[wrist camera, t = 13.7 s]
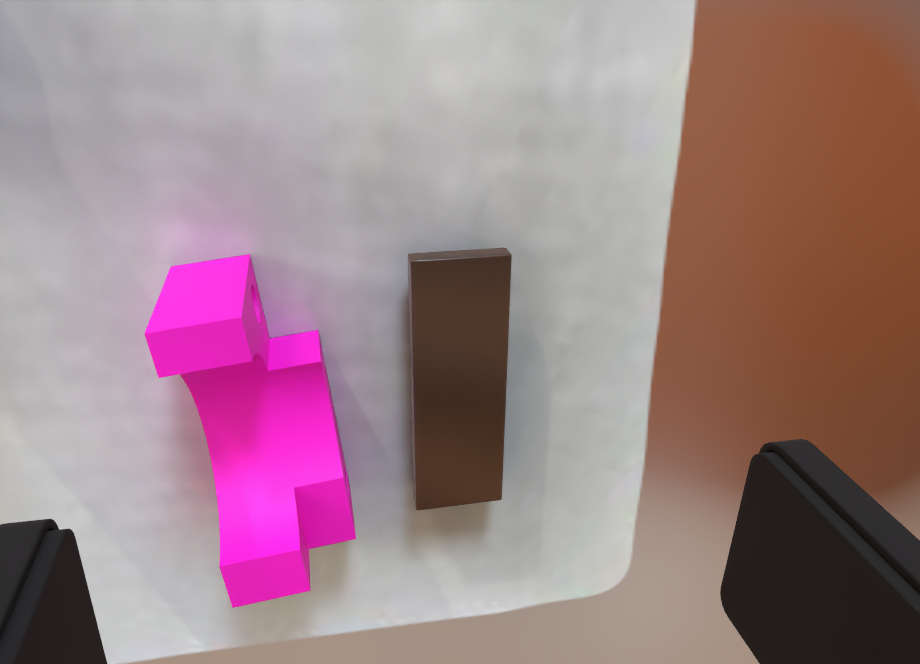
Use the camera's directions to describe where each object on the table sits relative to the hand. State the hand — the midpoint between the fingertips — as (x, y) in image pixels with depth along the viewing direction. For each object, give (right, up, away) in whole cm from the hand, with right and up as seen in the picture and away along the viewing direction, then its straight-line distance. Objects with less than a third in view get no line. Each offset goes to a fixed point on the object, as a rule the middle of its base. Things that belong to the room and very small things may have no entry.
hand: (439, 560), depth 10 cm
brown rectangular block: (0, +1, +31) cm, 31 cm away
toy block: (-10, 0, +30) cm, 31 cm away
